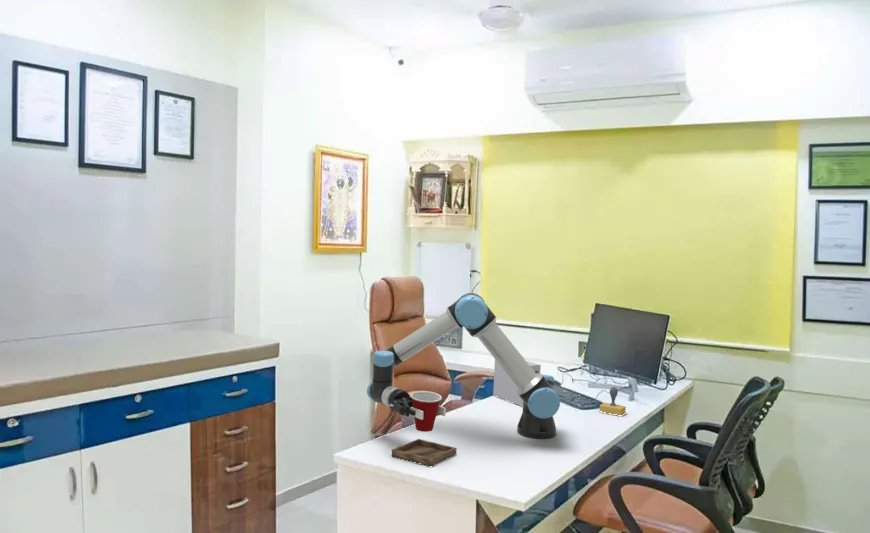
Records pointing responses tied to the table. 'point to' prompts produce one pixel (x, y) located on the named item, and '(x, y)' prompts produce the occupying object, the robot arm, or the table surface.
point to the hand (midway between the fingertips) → (433, 413)
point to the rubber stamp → (613, 404)
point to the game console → (508, 384)
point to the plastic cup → (425, 409)
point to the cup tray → (424, 452)
